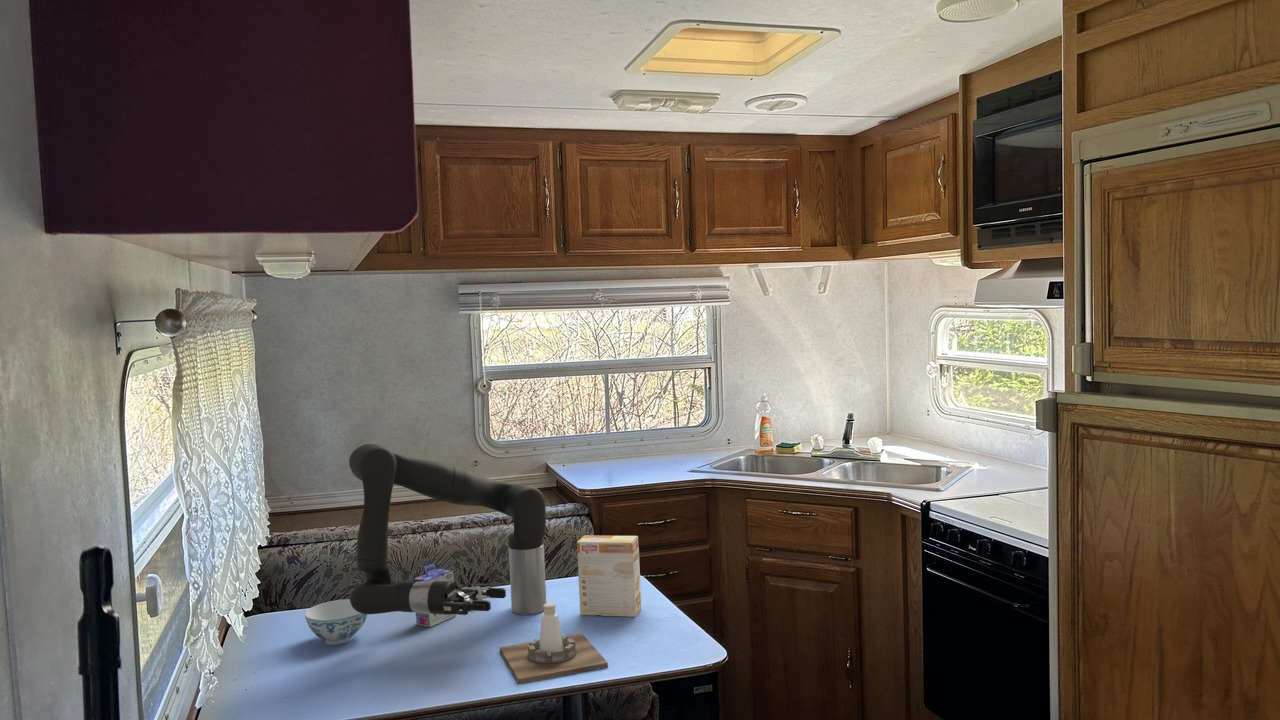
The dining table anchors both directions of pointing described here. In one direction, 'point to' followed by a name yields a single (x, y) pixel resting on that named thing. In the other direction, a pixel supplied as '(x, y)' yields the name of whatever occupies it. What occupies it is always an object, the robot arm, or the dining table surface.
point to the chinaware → (335, 621)
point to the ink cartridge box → (433, 575)
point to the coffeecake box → (609, 575)
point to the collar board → (552, 659)
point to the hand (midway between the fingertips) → (497, 599)
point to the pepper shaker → (550, 630)
